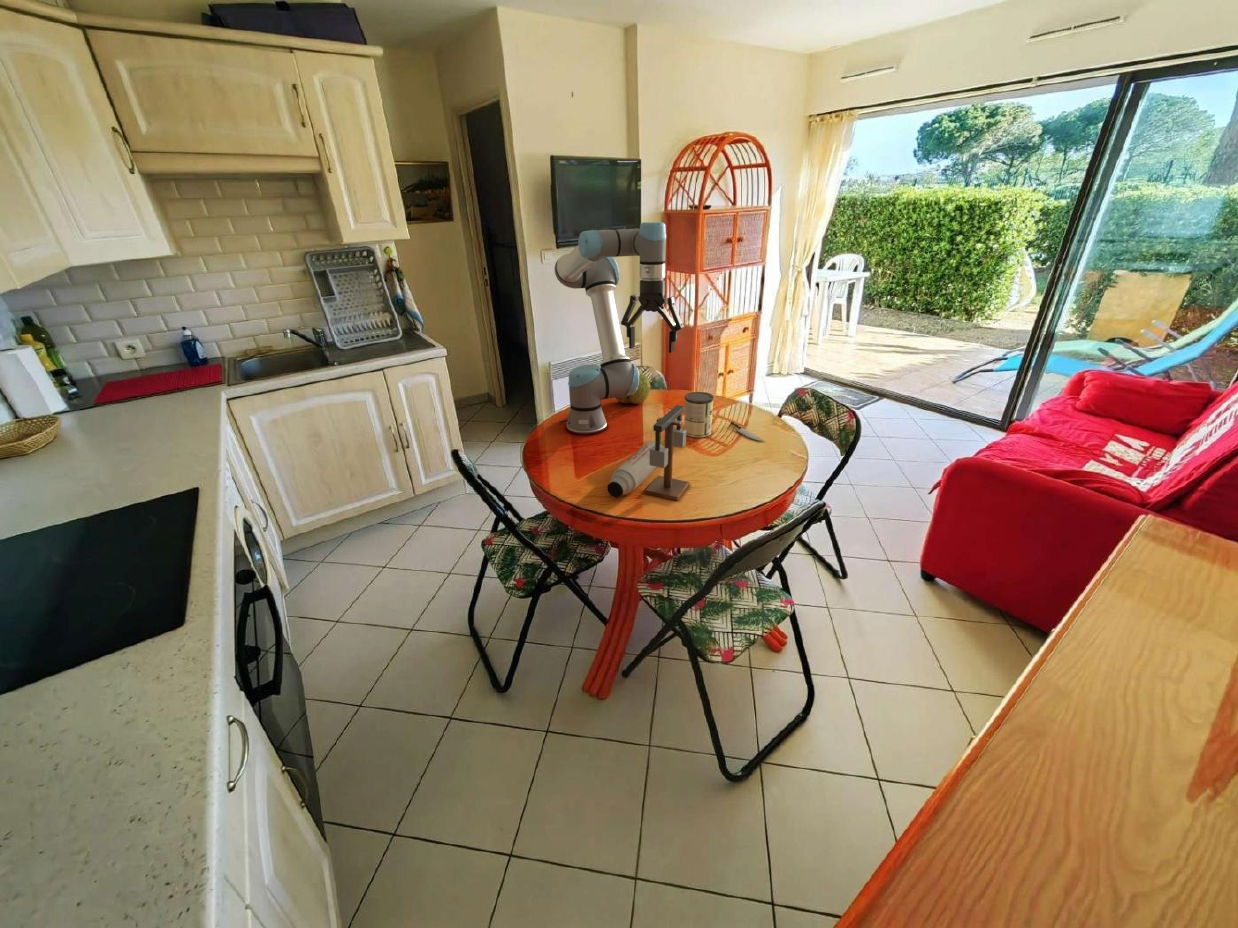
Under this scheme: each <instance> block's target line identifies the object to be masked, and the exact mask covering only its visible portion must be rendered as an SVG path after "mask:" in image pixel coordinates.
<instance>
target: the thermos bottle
mask: <svg viewBox="0 0 1238 928" xmlns="http://www.w3.org/2000/svg"><path fill="white" fill-rule="evenodd" d="M653 446H655V440H650V441H647V442H646V443H645V444H644V445H642V446H641V447H640V448H639V449H637V451H635V452H634V453H633V454H632V455H631V456H630V457H629V458H628V459H627V460H625V461H624V462H623V463H622V464H621V465H619V467H617V468H616V469H614V471H613V472H612V474H611V477H610V479H609V483H608V484H607V486H606V490H607V493H608V494H609V495H610V497H612V498H614V499H619V498H621V497H622V496H626V495H628V494H631V493H634V491H635V490H637V488H638V487H639V486H640V485H641V484H642V483H643V482H644V481H645V480H646V479H647V478H648V477H649V476H650V475H651V474H652V473H653V472H654V471H655V470H656V469H657V467H656V466H651V465H649V456H650V449H651V448H652V447H653ZM661 447H663V448H664V446H663V445H662V444H661Z"/></svg>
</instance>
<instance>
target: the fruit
mask: <svg viewBox="0 0 1238 928" xmlns="http://www.w3.org/2000/svg"><path fill="white" fill-rule="evenodd" d="M650 394H651V382H650V381H649V377H647V375H646V374H644V373H642V372H641V371H639V385H638V389H637V391H636V392H635V393H634V394H633V395H628V396H625V397H616V398H615V400H616V401H618V402H619V403H623V404H634V405H635V404H638V405H641V404H643V403H644V402H645V401H646V400H647V399H648V397H649V396H650Z"/></svg>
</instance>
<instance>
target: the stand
mask: <svg viewBox="0 0 1238 928" xmlns="http://www.w3.org/2000/svg"><path fill="white" fill-rule="evenodd" d="M661 418H662V417H658V418H657V419H656V423H657V422H658V421H659V420H660V419H661ZM683 424H684V421H683V420H682V421H678V420H677V419H675V420H674V421H673V422H672V423H671V424H670V425H669V426H668V427H667V428H666V429H664V448H668V464H667V465H666V467H665V468H663V476H662V475H657V477H656V478H655V479H653V481H652V482H651V483H649V486H647V487H646V488H645V490H644V491H645V492H644V494H647V495H650V496H655V497H659V498H663V499H668V500H673V501H678V500H679V499H680V498H681V496H682V495H683V494H684V493H685V492H686V490H687V489H688V488H689V486H690V481H687V480H681V479H677V478H673V460H674V458H673V455H674V446H673V431H674V428H675V426H681V427H682V425H683Z"/></svg>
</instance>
